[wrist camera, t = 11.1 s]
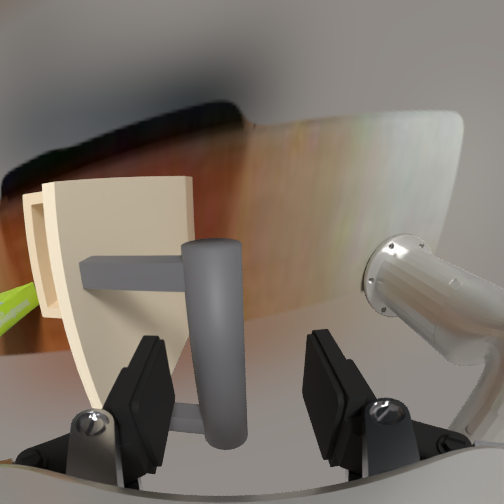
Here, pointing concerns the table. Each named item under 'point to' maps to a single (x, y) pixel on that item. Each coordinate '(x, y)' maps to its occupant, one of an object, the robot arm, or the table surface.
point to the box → (16, 305)
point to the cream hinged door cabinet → (41, 253)
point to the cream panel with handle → (149, 293)
